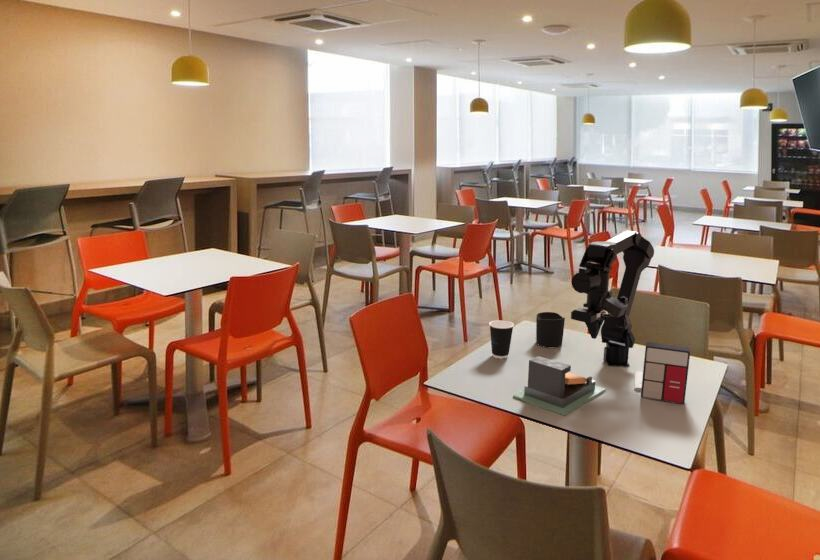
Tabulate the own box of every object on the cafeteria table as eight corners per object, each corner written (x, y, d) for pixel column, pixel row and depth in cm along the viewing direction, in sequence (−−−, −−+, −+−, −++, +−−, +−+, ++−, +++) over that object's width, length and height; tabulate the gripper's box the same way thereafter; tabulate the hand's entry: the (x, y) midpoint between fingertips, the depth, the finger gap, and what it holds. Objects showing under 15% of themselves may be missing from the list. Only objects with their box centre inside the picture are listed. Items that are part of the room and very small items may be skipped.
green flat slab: (555, 375, 184) (555, 373, 184) (605, 390, 173) (605, 388, 173) (512, 397, 169) (513, 395, 169) (564, 415, 158) (564, 413, 158)
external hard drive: (663, 379, 182) (665, 396, 171) (634, 376, 185) (633, 392, 174) (664, 374, 182) (665, 390, 171) (635, 371, 185) (634, 386, 174)
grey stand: (557, 377, 181) (559, 344, 178) (594, 389, 173) (597, 354, 170) (524, 394, 169) (525, 359, 167) (562, 408, 161) (565, 371, 158)
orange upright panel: (556, 368, 178) (536, 368, 170) (588, 377, 171) (569, 378, 163) (555, 373, 178) (535, 374, 170) (587, 383, 171) (567, 384, 163)
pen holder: (565, 341, 214) (567, 314, 211) (559, 350, 206) (561, 321, 203) (538, 337, 218) (540, 310, 215) (532, 346, 209) (533, 317, 207)
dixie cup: (516, 354, 201) (517, 322, 199) (507, 362, 194) (509, 329, 192) (493, 350, 205) (494, 318, 202) (484, 357, 198) (485, 325, 196)
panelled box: (640, 398, 168) (645, 346, 165) (641, 392, 172) (646, 341, 169) (684, 405, 164) (690, 352, 161) (684, 399, 168) (690, 347, 164)
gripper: (608, 297, 165) (604, 353, 168) (639, 285, 178) (634, 337, 181) (571, 290, 172) (568, 343, 176) (603, 279, 185) (599, 329, 189)
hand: (594, 338), depth 180 cm, fingers closed
